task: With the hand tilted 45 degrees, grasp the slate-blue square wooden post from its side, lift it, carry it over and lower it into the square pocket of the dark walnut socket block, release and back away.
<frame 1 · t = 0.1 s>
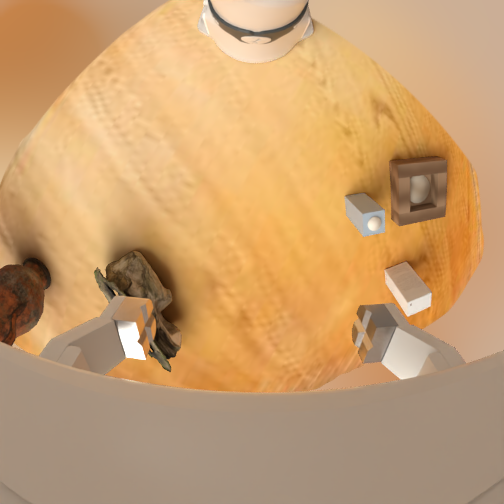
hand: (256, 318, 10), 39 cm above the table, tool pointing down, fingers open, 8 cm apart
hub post: (355, 204, 48), on the table
skincare box: (395, 271, 56), on the table
brown vase: (41, 272, 56), on the table
socket block: (415, 187, 46), on the table
hollow geode rock: (149, 298, 59), on the table
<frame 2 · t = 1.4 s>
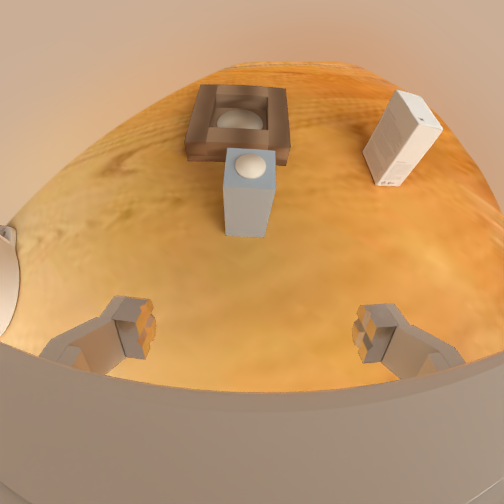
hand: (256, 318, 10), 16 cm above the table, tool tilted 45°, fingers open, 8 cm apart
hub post: (245, 219, 29), on the table
skincare box: (379, 169, 34), on the table
socket block: (239, 129, 34), on the table
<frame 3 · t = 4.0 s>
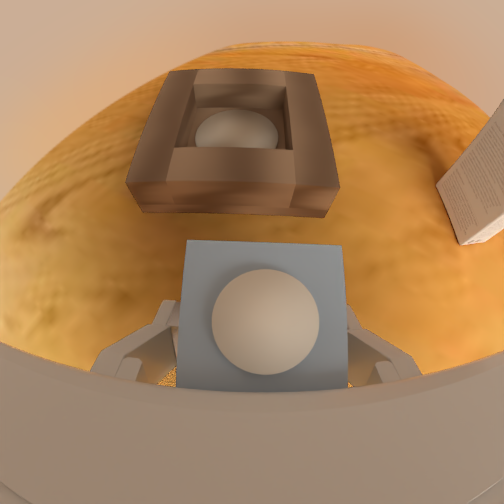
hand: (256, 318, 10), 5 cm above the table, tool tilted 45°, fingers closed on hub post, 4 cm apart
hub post: (251, 341, 15), on the table, touching gripper
skincare box: (459, 214, 19), on the table
socket block: (236, 145, 20), on the table
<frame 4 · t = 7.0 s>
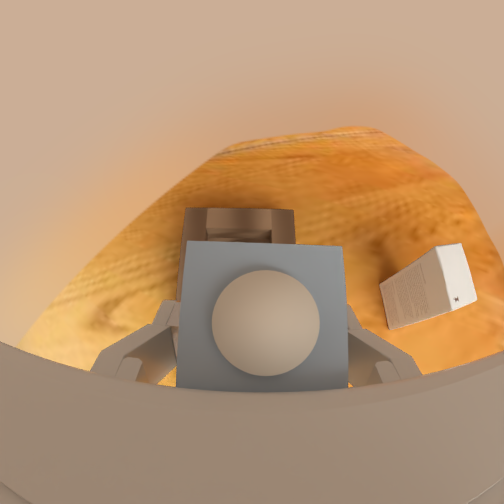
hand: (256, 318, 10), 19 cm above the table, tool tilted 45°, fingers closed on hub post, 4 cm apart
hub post: (251, 342, 15), point 14 cm above the table, touching gripper
skincare box: (395, 303, 30), on the table
socket block: (238, 270, 31), on the table
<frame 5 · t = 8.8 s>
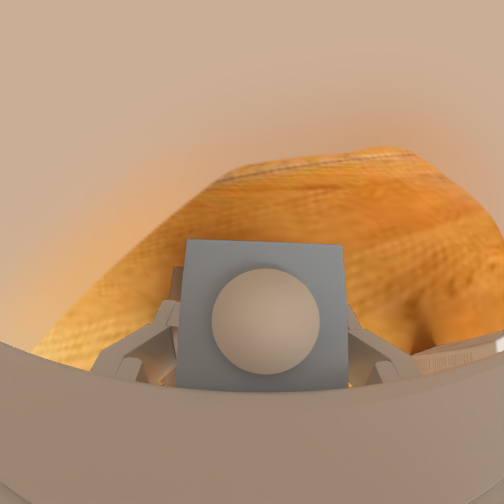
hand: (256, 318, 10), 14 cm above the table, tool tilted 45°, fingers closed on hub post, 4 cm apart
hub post: (251, 341, 15), point 9 cm above the table, touching gripper
skincare box: (426, 374, 23), on the table
socket block: (243, 346, 23), on the table
when the fingers open (7 cm above the table, at t = 10.3 s): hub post drops 1 cm, resting on socket block.
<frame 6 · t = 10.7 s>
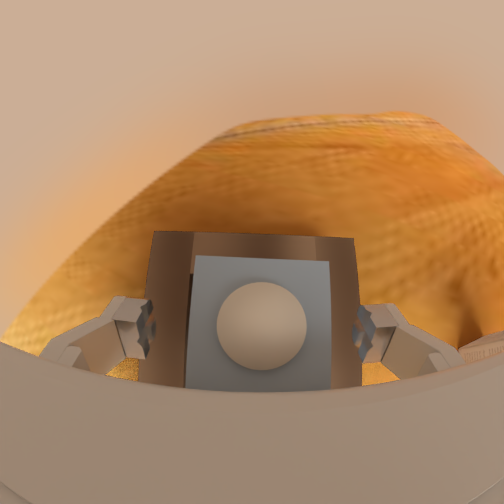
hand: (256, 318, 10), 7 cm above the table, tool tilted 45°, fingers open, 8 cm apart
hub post: (251, 342, 16), point 1 cm above the table, touching socket block
skincare box: (472, 371, 16), on the table
socket block: (250, 343, 17), on the table
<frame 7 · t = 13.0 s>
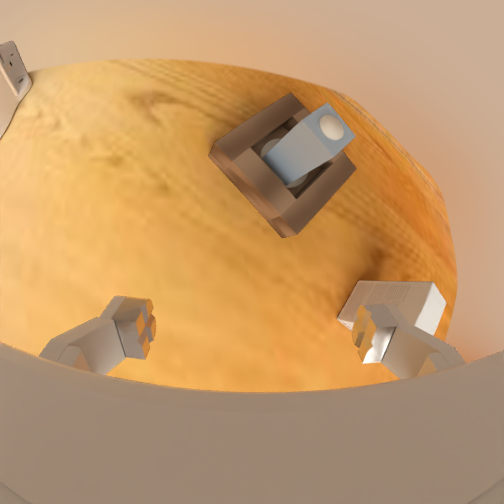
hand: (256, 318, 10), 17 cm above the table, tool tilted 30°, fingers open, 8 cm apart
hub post: (285, 162, 30), point 1 cm above the table, touching socket block
skincare box: (355, 306, 33), on the table
socket block: (280, 165, 31), on the table
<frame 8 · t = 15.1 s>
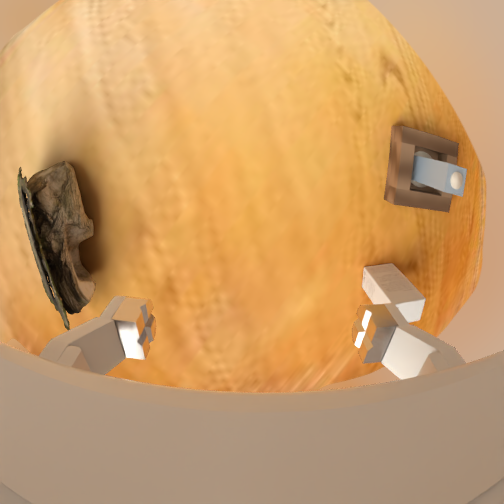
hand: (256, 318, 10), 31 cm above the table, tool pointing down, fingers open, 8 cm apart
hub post: (421, 169, 36), point 1 cm above the table, touching socket block
skincare box: (377, 274, 45), on the table
socket block: (417, 168, 37), on the table
hollow geode rock: (70, 233, 42), on the table
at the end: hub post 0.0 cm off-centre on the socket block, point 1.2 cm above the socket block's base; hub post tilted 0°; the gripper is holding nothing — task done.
